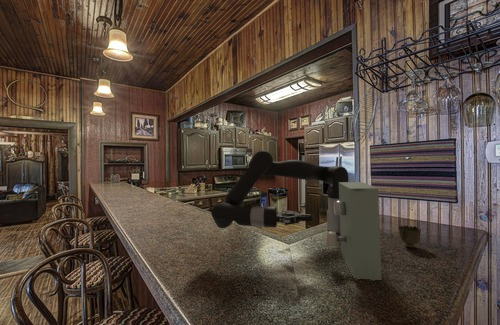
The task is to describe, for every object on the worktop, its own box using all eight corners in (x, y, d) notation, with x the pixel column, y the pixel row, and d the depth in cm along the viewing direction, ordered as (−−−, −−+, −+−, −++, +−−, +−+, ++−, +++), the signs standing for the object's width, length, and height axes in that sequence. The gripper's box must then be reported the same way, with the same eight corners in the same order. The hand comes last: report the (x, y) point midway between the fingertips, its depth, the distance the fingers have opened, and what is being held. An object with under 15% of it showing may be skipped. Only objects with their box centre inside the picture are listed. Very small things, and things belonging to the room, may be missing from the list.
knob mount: (353, 279, 72) (349, 188, 71) (341, 253, 91) (338, 182, 91) (381, 280, 70) (378, 188, 70) (363, 254, 90) (360, 182, 89)
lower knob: (327, 248, 80) (327, 233, 80) (326, 243, 85) (325, 229, 85) (349, 249, 79) (349, 234, 79) (346, 243, 84) (345, 230, 84)
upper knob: (336, 216, 79) (335, 202, 79) (334, 213, 84) (333, 199, 84) (358, 216, 78) (357, 202, 78) (354, 213, 83) (354, 199, 83)
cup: (425, 250, 91) (424, 230, 91) (404, 250, 92) (403, 229, 92) (415, 243, 98) (415, 225, 98) (396, 243, 99) (395, 224, 99)
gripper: (261, 210, 80) (312, 211, 77) (266, 203, 93) (310, 204, 90) (261, 231, 80) (313, 233, 77) (266, 222, 93) (311, 223, 90)
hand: (311, 217), depth 83 cm, fingers closed
